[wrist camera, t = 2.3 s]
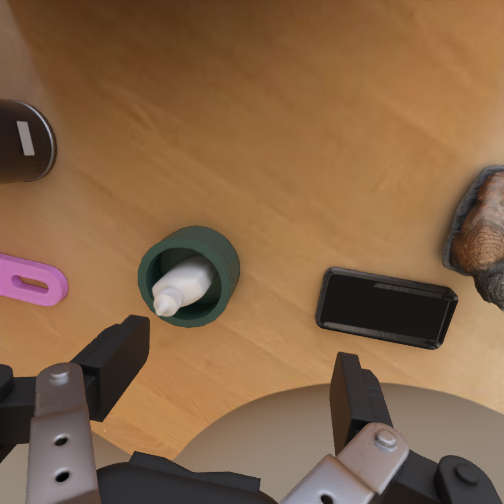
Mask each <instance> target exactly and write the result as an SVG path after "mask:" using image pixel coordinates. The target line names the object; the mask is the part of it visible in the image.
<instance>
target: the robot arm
mask: <svg viewBox="0 0 504 504" xmlns="http://www.w3.org/2000/svg"><path fill="white" fill-rule="evenodd" d="M55 157H56V142H55V137H54V134H53V131H52V129H51V127H50V125H49V123H48V122H47V120H46V119H45V117H44V116H43V115H42V114H41V113H40V112H39V111H38V110H37V109H35V108H34V107H33V106H31V105H29V104H27V103H25V102H22V101H17V100H5V99H0V184H5V183H14V182H21V181H22V182H28V181H35V180H38V179H40V178H42V177H44V176H45V175H46V174H47V173H48V172H49V171H50V170H51V168H52V166H53V164H54V161H55ZM149 341H150V320H149V318H148V317H143V316H137V315H130V316H128V317H127V318H126V319H125V320H124V321H123V322H122V323H121V324H115V325H113V326H110V327H108V328H106V329H105V330H103V331H102V332H101V333H100V334H99V335H98V336H97V338H95V339H94V340H93V341H92V342H91V344H88V345H87V346H86V347H85V348H84V349H83V350H82V351H81V352H80V353H79V354H78V355H77V356H75V357H74V358H73V359H72V360H71V361H70V362H69V363H68V362H66V363H58V364H55V365H52V366H49V367H47V368H46V369H44V370H43V371H41V372H40V373H39V375H38V376H37V377H13V370H12V368H11V367H10V366H7V365H4V364H0V463H1V462H2V461H3V459H5V457H6V456H7V455H8V454H9V453H10V452H11V450H12V449H13V448H14V447H15V446H16V445H17V444H25V443H29V456H28V471H27V486H26V501H25V504H502V502H501V500H500V498H499V496H498V494H497V492H496V490H495V488H494V486H493V484H492V482H491V480H490V479H489V477H488V476H487V475H486V474H485V473H484V472H483V471H482V470H481V469H480V468H479V467H477V466H476V465H475V464H473V463H472V462H470V461H468V460H466V459H464V458H461V457H458V456H454V455H448V456H444V457H442V458H441V460H440V461H439V464H438V463H436V462H433V461H432V460H429V459H427V458H425V457H423V456H420V455H418V454H417V453H415V452H413V451H412V450H410V449H409V446H408V443H407V441H406V440H405V438H404V437H403V436H402V435H401V434H400V433H399V432H398V431H397V430H395V429H394V427H393V424H392V421H391V419H390V415H389V412H388V409H387V406H386V403H385V400H384V397H383V393H382V391H381V387H380V384H379V381H378V379H377V378H376V377H375V375H374V374H373V373H372V372H371V371H370V370H367V369H362V368H361V365H360V362H359V358H358V355H355V354H350V353H344V352H338V354H337V357H336V362H335V366H334V371H333V375H332V380H331V384H330V407H331V417H332V426H333V436H334V446H335V455H336V457H334V456H332V455H331V454H328V455H326V456H325V457H324V458H323V459H322V460H321V461H320V462H319V463H318V464H317V465H316V466H315V467H314V468H313V469H312V470H311V471H310V472H309V473H308V474H307V475H306V476H305V477H304V478H303V479H302V480H301V481H300V482H299V483H298V484H297V485H296V486H295V487H294V488H293V489H292V490H291V491H290V492H289V493H288V494H287V495H286V496H285V497H284V498H283V499H282V500H281V501H280V502H279V503H277V502H276V501H275V500H274V499H273V498H271V497H270V496H268V495H267V494H265V493H263V492H261V491H260V490H259V487H260V480H261V479H260V478H256V477H251V476H246V475H242V474H237V473H233V472H202V473H201V472H200V473H196V472H191V471H190V470H188V469H186V468H184V467H182V466H180V465H178V464H176V463H174V462H172V461H170V460H168V459H166V458H164V457H160V456H155V455H151V454H146V453H141V452H137V451H134V453H133V455H132V457H131V459H130V461H129V462H122V463H116V464H112V465H108V466H105V467H103V468H100V469H98V470H96V466H95V458H94V450H93V443H92V435H91V426H90V420H93V421H98V422H103V420H104V419H105V418H106V416H107V415H108V414H109V412H110V411H111V409H112V408H113V407H114V405H115V404H116V403H117V401H118V400H119V398H120V397H121V396H122V394H123V393H124V391H125V390H126V389H127V387H128V386H129V385H130V383H131V382H132V380H133V379H134V378H135V376H136V375H137V374H138V372H139V371H140V369H141V368H142V367H143V365H144V364H145V362H146V360H147V357H148V354H149Z"/></svg>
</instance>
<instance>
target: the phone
mask: <svg viewBox="0 0 504 504" xmlns="http://www.w3.org/2000/svg"><path fill="white" fill-rule="evenodd" d="M457 303H458V296H457V295H456V293H455V292H453V291H452V290H451V289H450V288H447V287H443V286H437V285H431V284H426V283H420V282H415V281H409V280H403V279H398V278H392V277H387V276H381V275H375V274H370V273H364V272H359V271H353V270H348V269H342V268H336V267H333V268H330V269H328V270H327V271H326V272H325V274H324V279H323V283H322V288H321V292H320V297H319V301H318V306H317V310H316V315H315V318H316V324H317V325H318V326H319V327H320V328H323V329H327V330H332V331H337V332H343V333H348V334H353V335H358V336H363V337H368V338H373V339H378V340H383V341H388V342H393V343H398V344H403V345H409V346H414V347H419V348H424V349H429V350H434V349H437V348H439V347H440V346H441V345H442V343H443V341H444V338H445V335H446V333H447V330H448V327H449V324H450V322H451V319H452V316H453V314H454V311H455V308H456V305H457Z"/></svg>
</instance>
